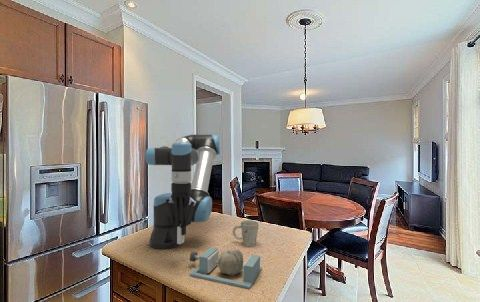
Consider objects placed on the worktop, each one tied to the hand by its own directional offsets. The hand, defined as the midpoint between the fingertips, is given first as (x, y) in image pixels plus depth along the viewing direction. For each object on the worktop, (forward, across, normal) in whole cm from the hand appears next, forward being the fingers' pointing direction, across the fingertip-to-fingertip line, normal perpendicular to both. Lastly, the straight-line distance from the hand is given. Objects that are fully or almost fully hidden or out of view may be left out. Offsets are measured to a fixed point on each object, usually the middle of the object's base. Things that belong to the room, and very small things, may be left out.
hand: (180, 242), depth 95 cm
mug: (+8, +17, +28) cm, 34 cm away
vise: (+8, +19, 0) cm, 21 cm away
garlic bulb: (+9, +21, 0) cm, 22 cm away
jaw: (+8, +10, 0) cm, 12 cm away
